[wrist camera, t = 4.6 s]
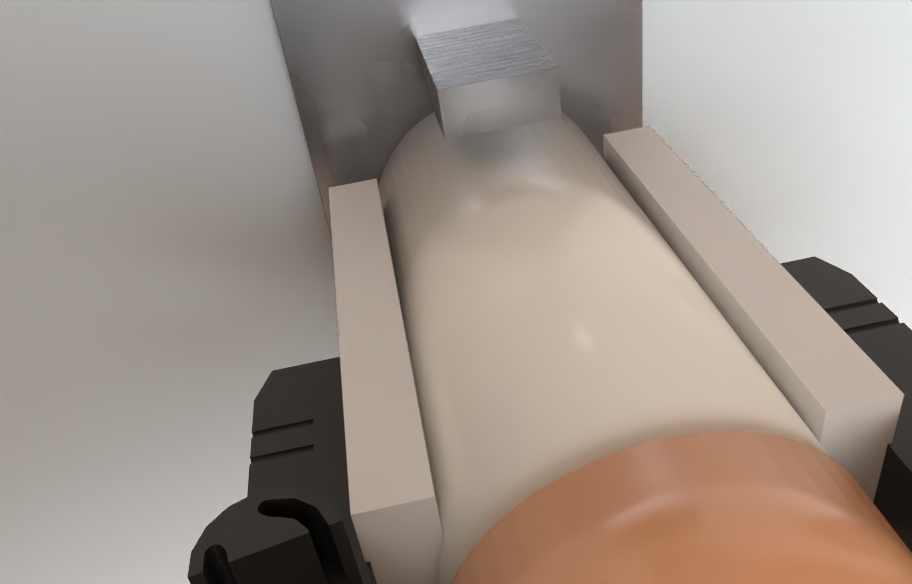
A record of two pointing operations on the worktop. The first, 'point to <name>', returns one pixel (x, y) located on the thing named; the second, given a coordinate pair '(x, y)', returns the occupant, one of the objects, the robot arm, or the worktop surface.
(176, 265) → the worktop surface
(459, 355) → the cylinder
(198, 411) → the worktop surface
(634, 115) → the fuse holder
